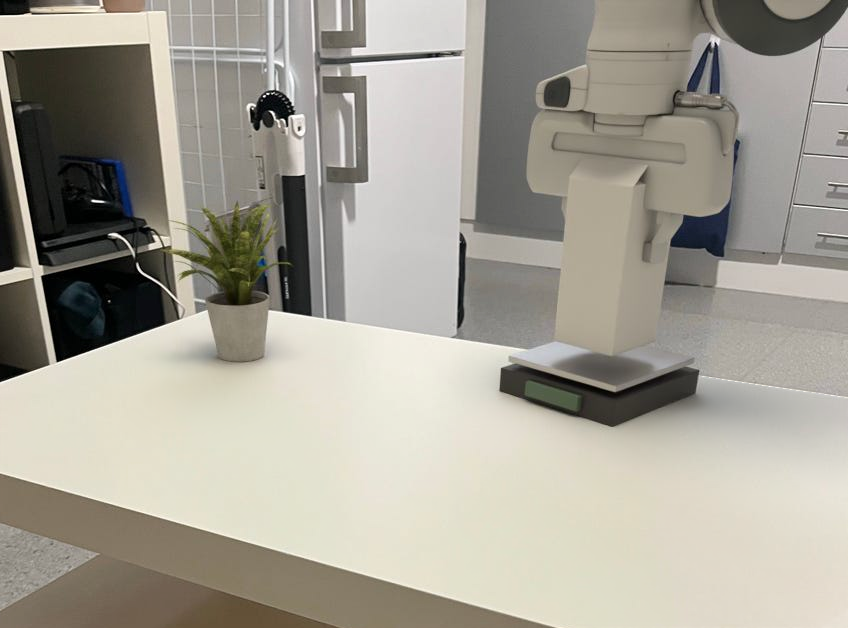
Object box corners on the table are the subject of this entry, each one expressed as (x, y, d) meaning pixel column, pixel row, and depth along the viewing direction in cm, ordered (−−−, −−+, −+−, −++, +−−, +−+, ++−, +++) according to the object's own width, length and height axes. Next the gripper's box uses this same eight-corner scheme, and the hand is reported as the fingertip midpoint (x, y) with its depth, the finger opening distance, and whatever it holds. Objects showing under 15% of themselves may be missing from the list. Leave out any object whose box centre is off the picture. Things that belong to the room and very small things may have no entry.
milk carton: (611, 358, 96) (639, 135, 85) (553, 342, 100) (573, 128, 90) (655, 343, 100) (688, 128, 89) (597, 328, 104) (621, 122, 94)
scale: (584, 362, 111) (586, 340, 110) (695, 393, 102) (699, 369, 101) (495, 392, 103) (496, 368, 101) (608, 428, 94) (611, 403, 93)
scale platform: (587, 336, 109) (588, 330, 108) (693, 363, 101) (694, 357, 100) (508, 361, 101) (508, 355, 101) (615, 392, 93) (616, 386, 93)
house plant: (215, 329, 123) (203, 182, 114) (321, 339, 119) (317, 188, 110) (156, 363, 111) (137, 203, 102) (271, 376, 107) (262, 210, 98)
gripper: (762, 92, 83) (731, 267, 91) (565, 81, 96) (552, 235, 104) (721, 97, 80) (692, 279, 87) (521, 85, 93) (511, 244, 100)
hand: (614, 255), depth 96 cm, fingers closed on milk carton, 7 cm apart
